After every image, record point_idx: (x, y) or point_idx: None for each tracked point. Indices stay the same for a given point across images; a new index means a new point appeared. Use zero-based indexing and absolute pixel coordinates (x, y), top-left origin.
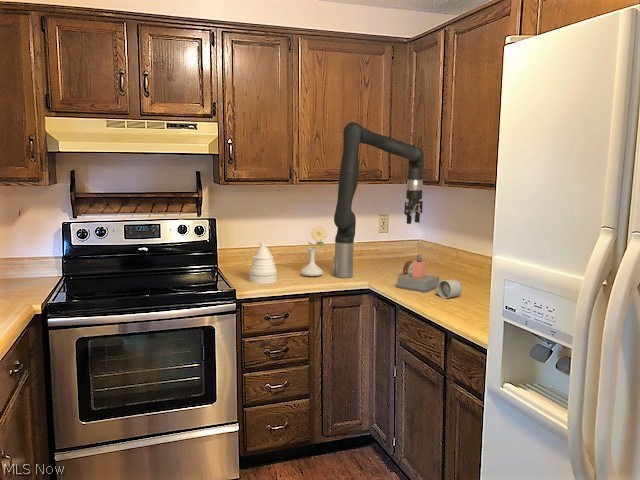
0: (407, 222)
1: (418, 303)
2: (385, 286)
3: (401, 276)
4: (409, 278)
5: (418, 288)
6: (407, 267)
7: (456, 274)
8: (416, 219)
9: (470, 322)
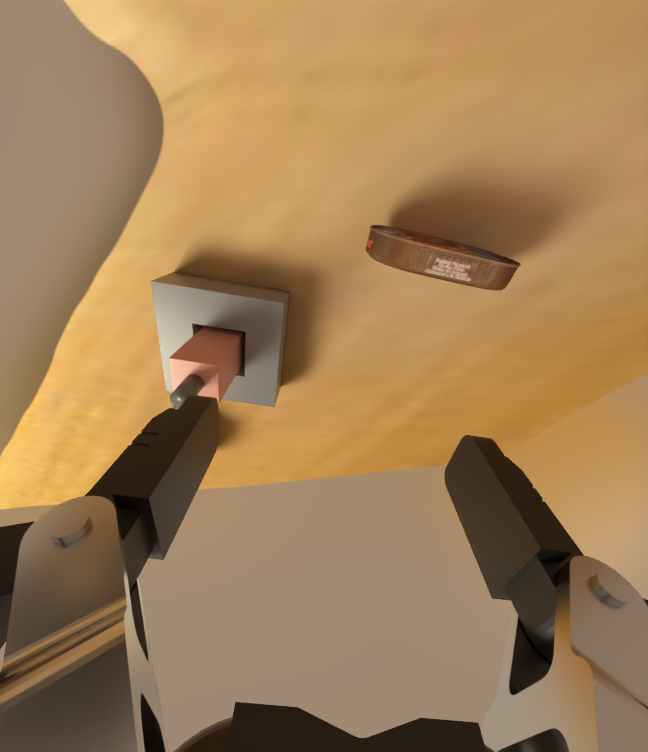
0: (168, 418)
1: (59, 387)
2: (160, 217)
3: (175, 290)
4: (166, 331)
5: None
6: (370, 252)
7: (523, 389)
8: (473, 485)
9: (35, 490)
